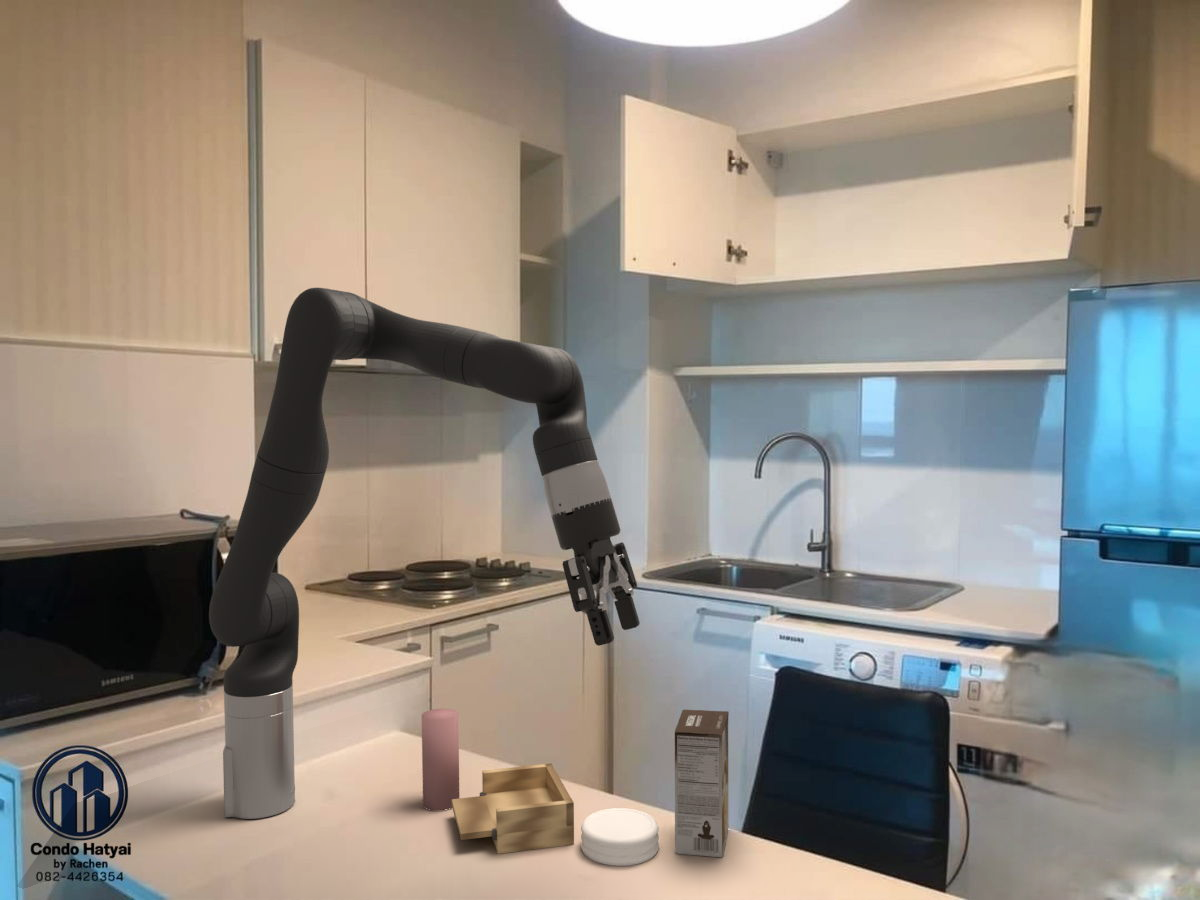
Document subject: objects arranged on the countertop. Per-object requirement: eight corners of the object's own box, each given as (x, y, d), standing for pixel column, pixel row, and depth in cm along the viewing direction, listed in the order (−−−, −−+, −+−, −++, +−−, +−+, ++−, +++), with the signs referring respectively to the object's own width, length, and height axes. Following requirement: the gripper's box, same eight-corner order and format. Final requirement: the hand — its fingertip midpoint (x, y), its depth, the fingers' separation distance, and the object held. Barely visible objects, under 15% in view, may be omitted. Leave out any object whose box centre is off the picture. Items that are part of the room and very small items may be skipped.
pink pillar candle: (424, 812, 132) (423, 721, 132) (421, 798, 137) (420, 710, 137) (461, 808, 134) (460, 718, 133) (457, 794, 139) (456, 707, 138)
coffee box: (682, 823, 129) (682, 707, 128) (729, 827, 127) (729, 710, 127) (673, 854, 120) (673, 730, 119) (724, 859, 118) (724, 733, 118)
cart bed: (462, 858, 119) (461, 815, 119) (450, 812, 132) (450, 774, 132) (574, 844, 123) (573, 802, 122) (551, 800, 136) (551, 763, 136)
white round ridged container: (669, 840, 124) (669, 814, 124) (640, 874, 115) (640, 846, 115) (601, 826, 128) (601, 801, 128) (567, 858, 119) (567, 831, 119)
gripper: (577, 508, 121) (613, 630, 120) (527, 518, 108) (566, 656, 106) (629, 491, 118) (666, 617, 117) (584, 500, 105) (625, 641, 104)
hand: (618, 635), depth 112 cm, fingers open, 8 cm apart
